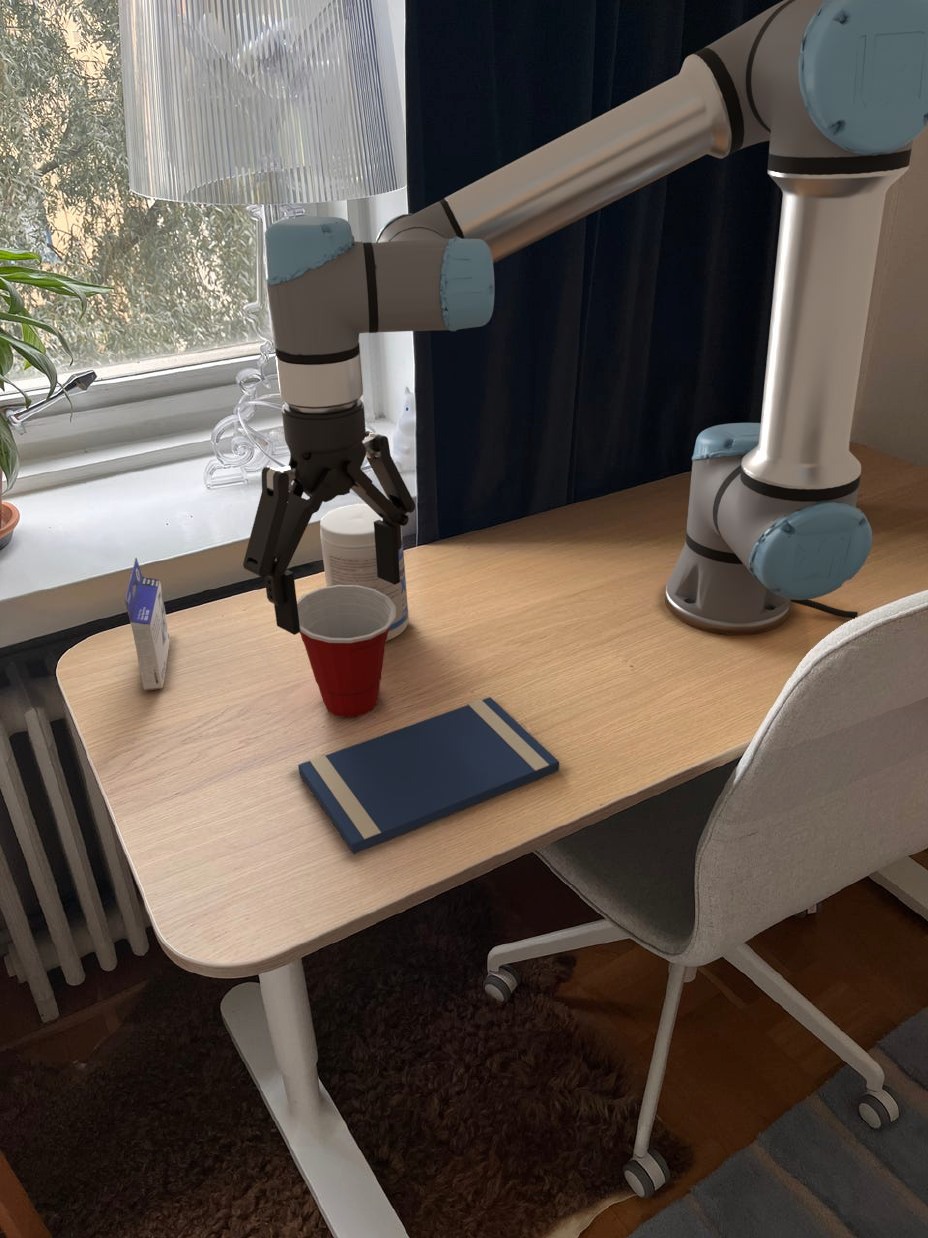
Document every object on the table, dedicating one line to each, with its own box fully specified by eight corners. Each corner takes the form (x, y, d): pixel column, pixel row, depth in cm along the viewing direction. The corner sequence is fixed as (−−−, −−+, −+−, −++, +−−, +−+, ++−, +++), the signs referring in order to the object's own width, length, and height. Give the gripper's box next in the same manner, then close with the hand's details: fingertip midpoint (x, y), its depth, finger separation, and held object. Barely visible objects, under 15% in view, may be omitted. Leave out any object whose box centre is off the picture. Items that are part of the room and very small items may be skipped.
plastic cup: (362, 745, 99) (353, 645, 93) (282, 714, 104) (268, 617, 98) (422, 692, 107) (416, 597, 101) (344, 666, 112) (335, 574, 106)
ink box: (165, 690, 108) (145, 600, 103) (143, 692, 108) (122, 602, 102) (172, 638, 118) (155, 553, 112) (153, 640, 118) (134, 555, 112)
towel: (490, 705, 104) (490, 695, 103) (559, 771, 94) (559, 760, 94) (299, 774, 95) (297, 763, 94) (353, 854, 85) (352, 843, 84)
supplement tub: (423, 631, 118) (417, 521, 110) (354, 656, 113) (343, 543, 106) (384, 600, 125) (376, 495, 118) (318, 622, 121) (305, 514, 113)
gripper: (391, 364, 98) (401, 551, 109) (182, 426, 82) (217, 638, 93) (445, 377, 94) (450, 571, 105) (234, 445, 78) (265, 666, 89)
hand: (340, 603), depth 99 cm, fingers open, 13 cm apart
